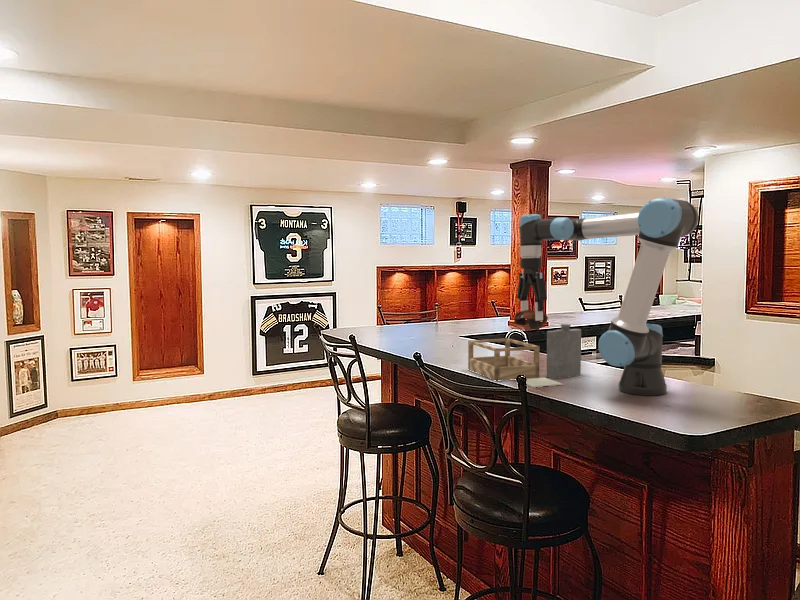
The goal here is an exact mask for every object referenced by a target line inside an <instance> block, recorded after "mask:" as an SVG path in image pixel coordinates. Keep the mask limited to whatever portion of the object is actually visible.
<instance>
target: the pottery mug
mask: <svg viewBox="0 0 800 600" xmlns="http://www.w3.org/2000/svg"><path fill="white" fill-rule="evenodd" d="M522 315H523V318H521V316H522ZM548 318H549V317H548V316H547V314H546V313H545V312H543V320H539V321H535V310H533V309H528V310H525V311H521V310H520V311H519V312H517V313H516V314H514V321H513V324H516V325H519V326H523V328H524V332H529V331H540V329H542V327H543V326H544V325H546V323H547V322H548Z"/></svg>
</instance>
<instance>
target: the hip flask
mask: <svg viewBox="0 0 800 600" xmlns="http://www.w3.org/2000/svg"><path fill="white" fill-rule="evenodd" d="M560 327H561V328H560V329H553V330H548V331H546V378H547V377H548V379H550V378H554V379H560V378H559V377H565V378H569V377H568V376H572V377H577V376H576V375H578V376H581V375H580V374H582V373H581V372H582V371H581V370H582V368H581V366H582V364H581V362H582V361H581V360H582V359H581V358H582V329H581V328H572V329H571V328H570V327H571V324H570V323H561V324H560Z"/></svg>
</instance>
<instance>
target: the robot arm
mask: <svg viewBox="0 0 800 600" xmlns="http://www.w3.org/2000/svg"><path fill="white" fill-rule="evenodd" d="M698 223H699V213H698V210H697V209H696V207H695V205H693V204H692V203H691V202H689V201H687V200H683V199H676V198H670V197H660V198H659V197H657V198H654V199H651V200H649V201H647V202H646V203H645V204H644V205H643V206H642V207H641V208H640V210H639V211H638V212H637V211H636V212H630V213H629V212H628V213H621V214H612V215H602V216H593V217H586V218H576V219H575V218H569V217H565V216H564V217H561V216H560V217H559V216H558V217H554V218H544V219H543V218H542V215H541V214H538V213H537V214H536V213H535V214H534V213H532V214H523V215H521V216H520V218H519V237H520V238H519V239H520V240H519V241H520V246H519V250H520V251H519V253H520V255H519V256H520V257H521V259H520V269H521V270H523V272H519V273H518V286H517V287H518V288H517V294H516V295H517V296H516V297H517V298H516V299H517V300H518V299H519V301H520V312H521V311H525V310H529V298H528V296H529V293H530V290H531V289H530V288H531V287H532V290H533V293H534V297H535V300H534V313H535V321H539V320H540V321H543V320H544V317H543V313H544V302H545V301H547V299H548V296H547V290H546V289H547V288H546V284H545V273H544V272H540V271H539V269H541V268H542V263H543V260H542V258H541V256H542V241H575V242H576V241H577V242H579V241H583V240H592V239H604V238H616V237H630V236H637V239H638V241H639V242H640V247H639V249H638V253H637V256H636V259H635V262H634V265H633V269H632V272H631V274H630V277H629V281H628V285H627V288H626V291H625V294H624V297H623V300H622V303H621V307H620V310H619V312H618V315H617V316H615V317H613V318H612V319H611V321H610V325H609V328H608V330H607V331H605V332H604V333H603V334H602V335H601V336H600V337H599V340H598V342H597V343H598V345H597V346H598V351H599V354H600V356H601V358H602V359H603V360H604V361H605V362H606V363H607V364H608V365H611V366H613V367H623V371H622V372H621V373H622V374H621V377H620V379H619V382H618V390H619V391H621V392H623V393H625V394H630V395H637V396H662V395H665V394H667V392H668V390H667V389H668V388H667V387H668V386H667V384H666V380H665V377H664V374H663V373H664V372H663V370H662V369H663V368H662V367H663V365H662V363H663V362H662V361H663V337H664V334H663V327H662V326H661V325H660V324H655V323H647V322H648V318H649V317H650V316H649V315H650V312H651V310H652V308H653V307H652V306H653V304H654V301H655V298H656V296H657V295H656V294H657V292H658V289H659V286H660V283H661V280H662V278H663V275H664V271H665V268H666V265H667V262H668V259H669V257H670V253H671V251H673V250H676V249H677V248H678V246H679V243H680V239H681V238H682V237H683V238H684V237H686V236H688V235H689V234H691V233H692V232H693V231H694V230H695V229H696V228H697V226H698ZM520 318H523V315H522V316H521V317H520Z"/></svg>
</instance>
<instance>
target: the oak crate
mask: <svg viewBox="0 0 800 600" xmlns="http://www.w3.org/2000/svg"><path fill="white" fill-rule="evenodd" d="M500 342H501V343H502V342H503V343H504V347H503V348H502V347H501V348H497V347H495V346H490V345H488V344H487V343H500ZM467 343H468V347H467V349H468V351H467V352H468V355H467V356H468V357H467V358H468V359H467V361H468V362H467V364H468V365H467V366H468V367H467V369H469V370H471V371H474V372H477V373H479V374H481V375H484V376H486V377H488V378H491V379H493V380H496V381H498V380H510V379H516V377H517V376H518V375H525V376H526V378H527V379H531V378H540V345H535V344H532V343H527V342H523V341H520V340H515V339H513V338H509V337H508V338H494V339H491V338H490V339H476V340H475V339H474V340H468V342H467ZM484 343H485V344H484ZM511 343H512V344H516V345H520V346H517V347H511ZM486 344H487V345H486ZM474 346H476V347H480V348H483V349H486V350H490V351H493V352H494V353H493V354H494V355H493V356H478V357H474ZM527 350H528V351H531V350H533V362H532V361H531V362H530V361H527V360H524V359H521V358H518V357H515V356H512V355H511V352H513V351H514V352H515V351H516V352H518V351H527ZM501 352H504V355H501ZM469 370H468V371H469ZM471 371H470V372H471ZM474 372H473V373H474ZM479 374H478V375H479ZM481 375H480V376H481ZM484 376H483V377H484ZM486 377H485V378H486ZM488 378H487V379H488ZM491 379H490V380H491ZM493 380H492V381H493ZM496 381H495V382H496ZM510 381H511V380H510ZM498 382H499V381H498Z"/></svg>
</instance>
